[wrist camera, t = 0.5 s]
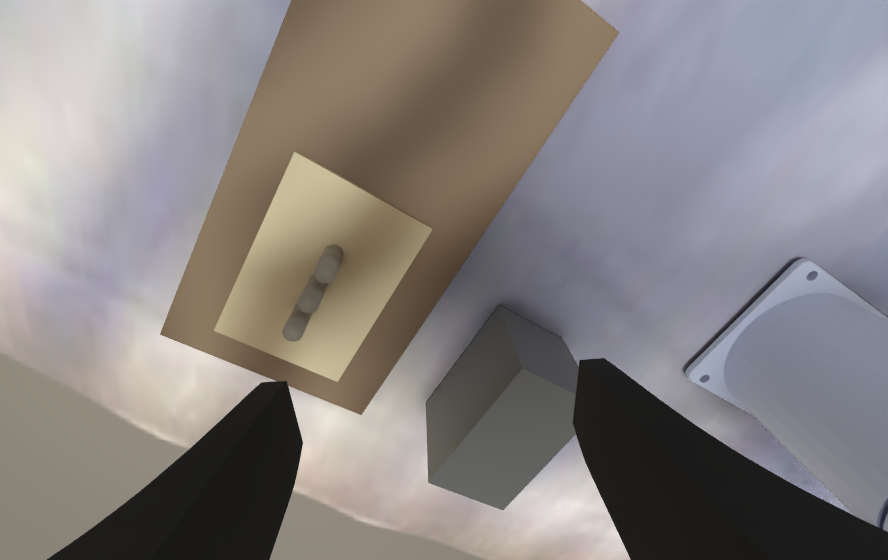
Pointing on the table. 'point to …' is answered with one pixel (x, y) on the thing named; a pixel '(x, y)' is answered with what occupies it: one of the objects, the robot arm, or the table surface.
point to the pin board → (373, 178)
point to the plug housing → (501, 410)
